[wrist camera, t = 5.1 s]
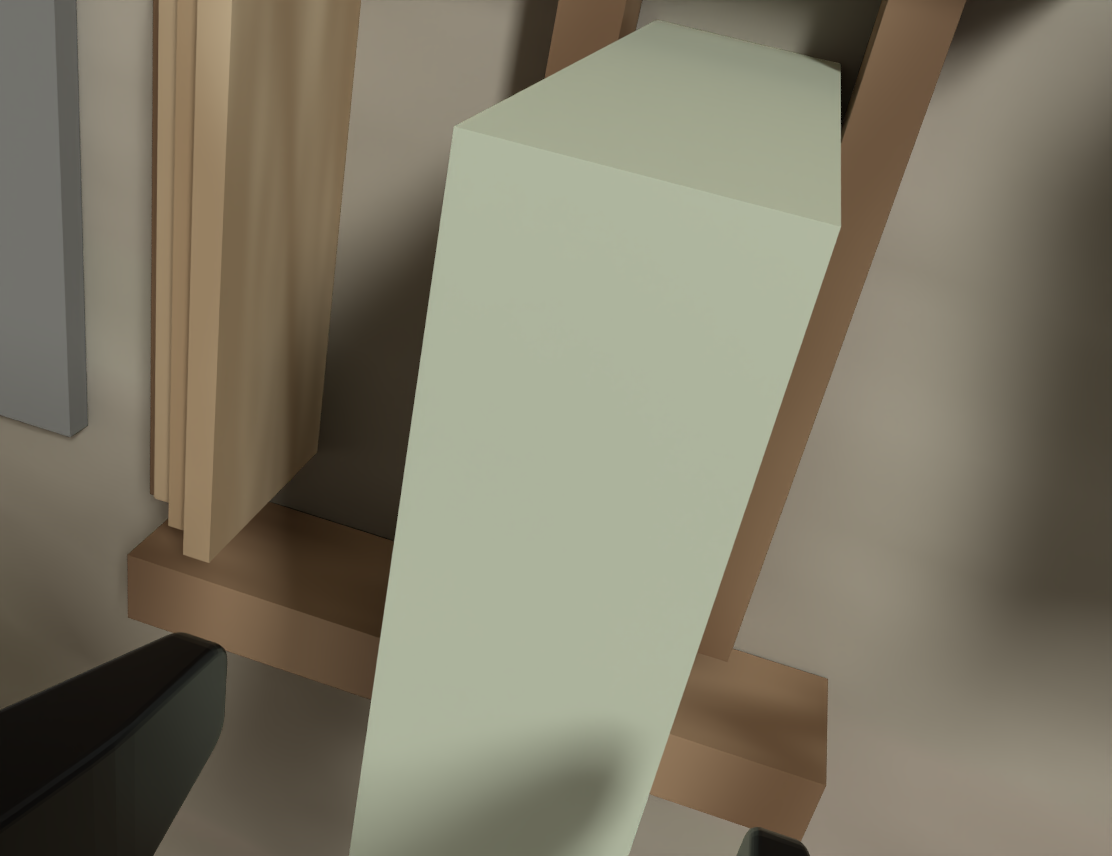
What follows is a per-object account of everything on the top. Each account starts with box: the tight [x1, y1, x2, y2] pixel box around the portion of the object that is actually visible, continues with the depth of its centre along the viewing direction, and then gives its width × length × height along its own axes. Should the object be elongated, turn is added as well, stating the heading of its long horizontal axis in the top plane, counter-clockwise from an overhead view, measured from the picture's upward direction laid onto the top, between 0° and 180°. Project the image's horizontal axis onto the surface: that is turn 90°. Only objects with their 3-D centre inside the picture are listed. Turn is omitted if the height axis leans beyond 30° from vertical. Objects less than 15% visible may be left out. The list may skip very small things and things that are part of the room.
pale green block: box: [349, 20, 841, 856], centre depth 14 cm, size 3×9×10 cm, turn 169°
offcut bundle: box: [154, 0, 361, 563], centre depth 18 cm, size 2×11×4 cm, turn 169°
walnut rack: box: [127, 0, 966, 842], centre depth 17 cm, size 15×17×3 cm
